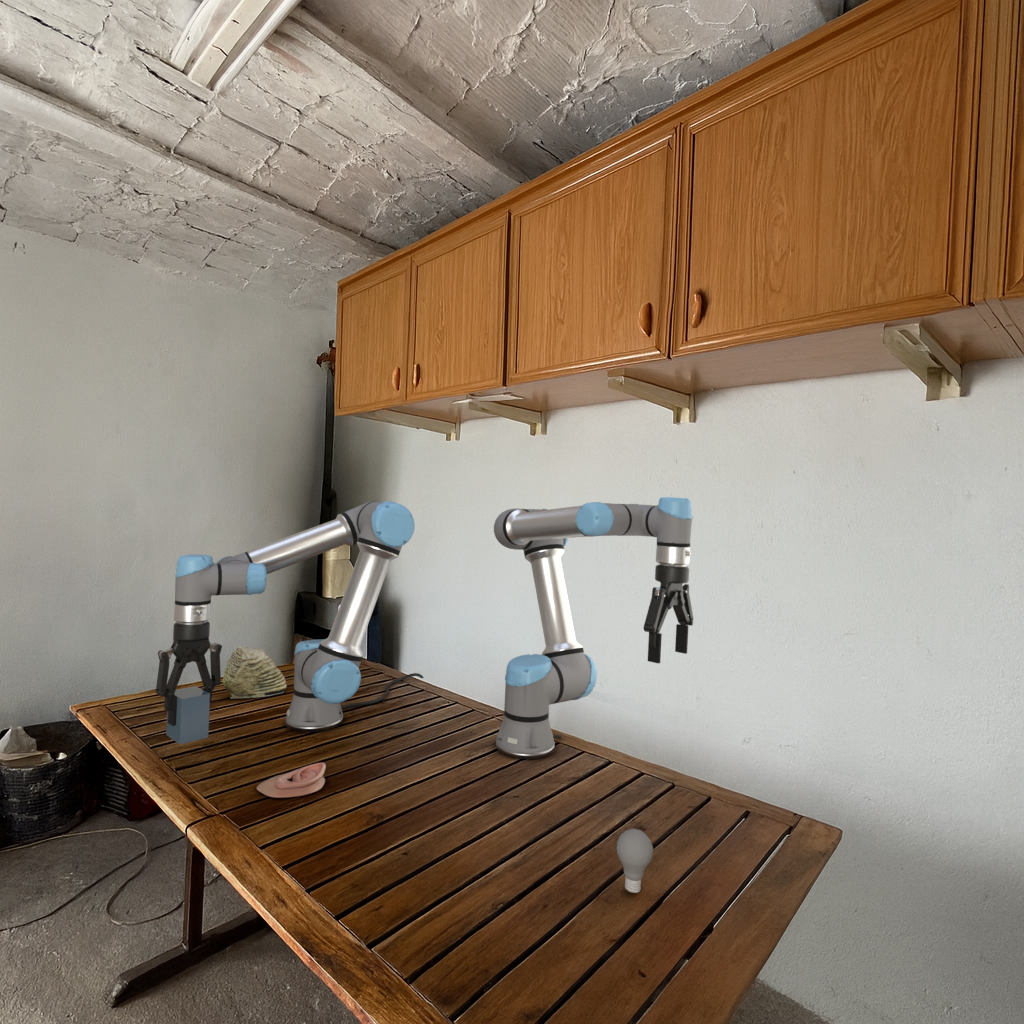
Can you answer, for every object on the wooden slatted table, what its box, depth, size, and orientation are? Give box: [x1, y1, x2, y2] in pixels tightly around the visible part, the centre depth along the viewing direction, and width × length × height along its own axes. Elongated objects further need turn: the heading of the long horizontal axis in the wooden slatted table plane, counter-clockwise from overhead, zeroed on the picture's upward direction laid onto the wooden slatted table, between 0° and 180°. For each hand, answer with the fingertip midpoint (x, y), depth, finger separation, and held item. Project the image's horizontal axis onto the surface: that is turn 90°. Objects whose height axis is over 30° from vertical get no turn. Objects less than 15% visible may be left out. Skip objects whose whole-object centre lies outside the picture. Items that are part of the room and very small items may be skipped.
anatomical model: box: [256, 762, 327, 799], centre depth 137 cm, size 13×4×12 cm
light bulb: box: [615, 828, 654, 894], centre depth 106 cm, size 6×6×10 cm
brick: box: [165, 685, 211, 745], centre depth 147 cm, size 6×8×10 cm
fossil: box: [222, 646, 288, 699], centre depth 198 cm, size 9×18×15 cm, turn 132°
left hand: (187, 720), depth 147 cm, fingers closed on brick, 6 cm apart
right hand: (667, 657), depth 145 cm, fingers open, 13 cm apart
